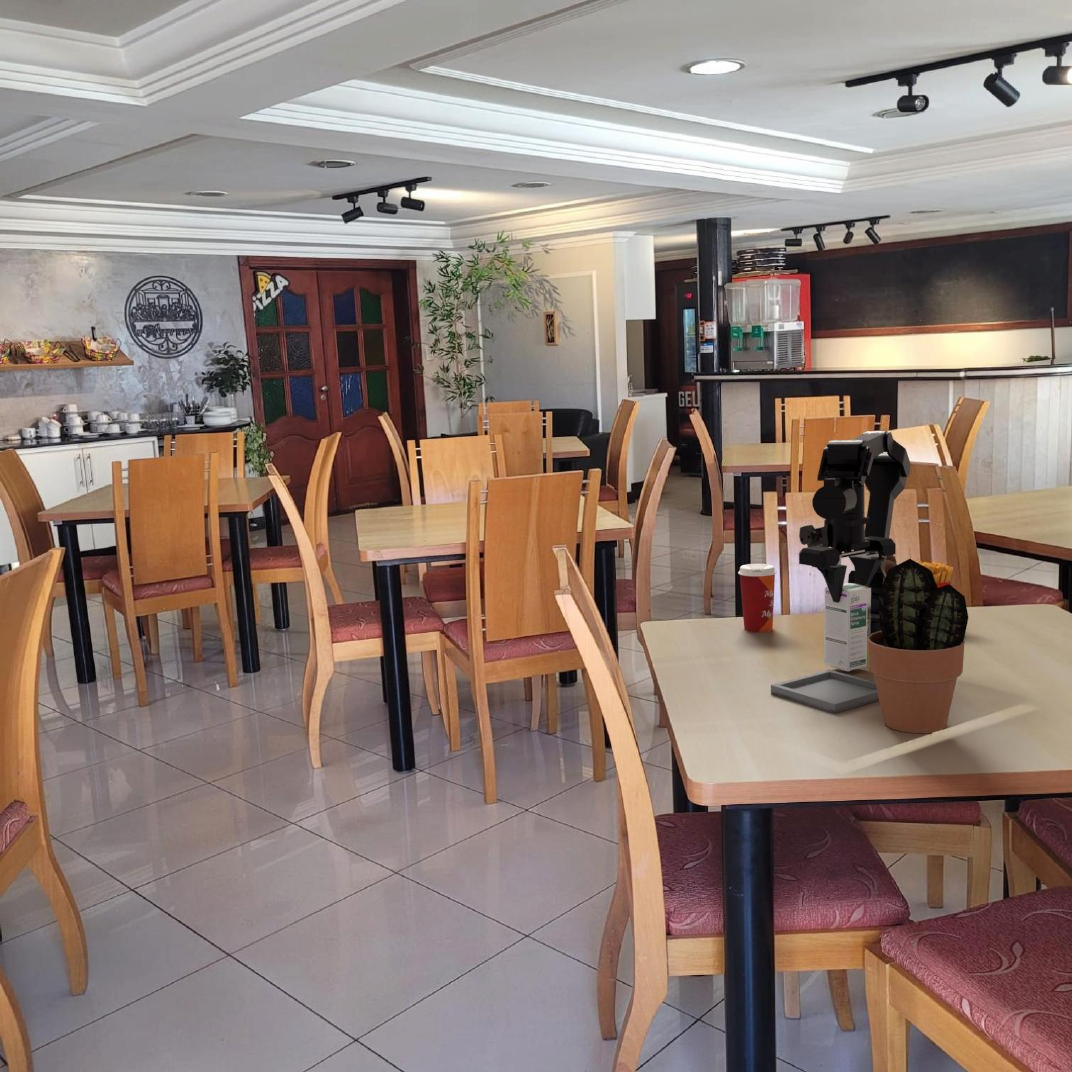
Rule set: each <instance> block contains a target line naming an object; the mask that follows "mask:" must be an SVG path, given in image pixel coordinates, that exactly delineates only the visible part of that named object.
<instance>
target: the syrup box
mask: <svg viewBox="0 0 1072 1072" xmlns="http://www.w3.org/2000/svg"><path fill="white" fill-rule="evenodd" d="M823 623H824V625H823V626H824V632H823V633H824V635H823V637H824V639H823V640H824V645H823V647H824V650H823V651H824V656H823V658H824V659H823V660H824V661H823V662H824V665H825V666H827V667H831V668H833V669H838V670H841V671H845V672H850V671H851V672H852V671H853V670H858V669H862V668H863V669H864V668H867V667H868V668H869V666H868V649H867V637H868V636H869V635H870V624H871V588H870V587H867V586H864V585H860V584H853V583H848V582H845V583H844V584H843V589H842V594H841V598H840V601H839V602H838V603H836V602H833V600H832V597H831V594H830V592H829V589H828V586H826V587H824V622H823Z"/></svg>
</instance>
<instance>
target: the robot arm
mask: <svg viewBox="0 0 1072 1072" xmlns="http://www.w3.org/2000/svg"><path fill="white" fill-rule="evenodd" d="M910 474H911V460H910V457H909V454H908V451H907V449H906V447H904V445H903V446H902V444H900V443H899V442H898V441H896V440H895V439H894V437H893V434H892V432H891V431H890V432H889V431H888V430H867V431H865V432H862V434H861V435H859V436H857V437H855V438H852V439H848V440H846V439H842V440H841V439H833V440H831V439H830V440H829V441H828V442H827V443H826V446H825V447H824V448H823V450H822V455H821V460H820V464H819V469H818V473H817V479H816V480H817V482H823V485H822V486H821V487H819V488H818V489H817V490H816V491H815V493H814V494H813V497H812V500H811V503H812V508H813V510H814V513H815V514H816V515H817V516H818V517H820V518H822V519H823V520H824V521H823V523H824V524H823V526H821V527H818V528H817V527H814V525H812V524H810V525H804V526H800V527H799V535H798V537H799V541H800V543H801V544H802V545H803V546H805V545H807V547H802V549H801V550H799V552H798V565H803V566H804V565H805V566H810V567H811V568H816V569H817V570H818V571H819V572H820V573H821V574H822V577H823V579H824V580H825V583H826V587H828V589H829V592H830V594H831V597H832V600H833V602H836V603H838V602H839V601H840V598H841V594H842V589H843V584H845V583H844V582H845V580H846V574H847V567H848V565H845V564H842V559H843V558H849V560H850V562H851V563H852V565H853V567H854V569H853V570H850V572H849V573H848V576H847V577H848V579H847V583H853V584H860V585H864V586H867V587H870V588H871V624H870V634H872V633H875V632H878V631H882V630H881V628H880V614H879V594H880V591H881V588H882V586H883V583H884V580H885V578H886V573H885V566H886V558H887V556H889V555H893V556H895V555H896V554H897V553H896V543H895V541H894V540H893V539H892V538H890V534H891V527H892V519H893V512H894V506H895V505H894V504H895V500H896V499H897V498H898V497H899V495H901V493H902V492H904V490H905V489H906V483H907V478H909V477H910ZM865 486H866V488H867V491H868V493H869V498H868V505H867V512H866V516H865V504H866V503H865V499H866V498H865V497H866V496H865Z"/></svg>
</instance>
